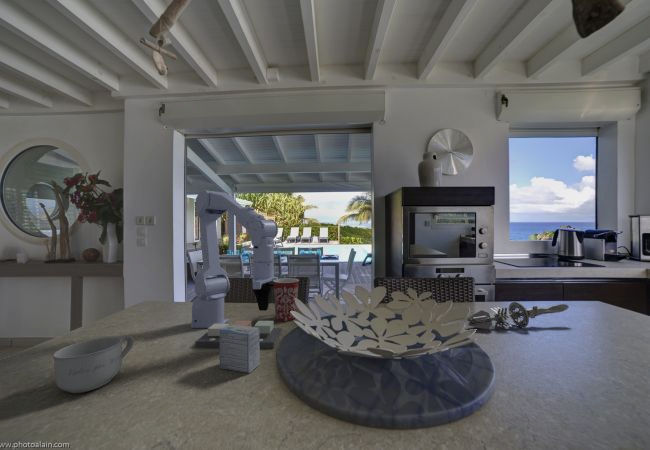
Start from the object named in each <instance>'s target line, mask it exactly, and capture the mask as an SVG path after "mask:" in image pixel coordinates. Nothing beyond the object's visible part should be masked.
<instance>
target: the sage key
mask: <svg viewBox="0 0 650 450" xmlns="http://www.w3.org/2000/svg"><path fill="white" fill-rule="evenodd" d="M274 324H275V323H274V320H258V321H257V322H256V323H255V324H254V326H253V327H257V328H259V333H271V331H272V329H273V328H275V327H274V326H275V325H274Z"/></svg>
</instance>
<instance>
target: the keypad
mask: <svg viewBox="0 0 650 450" xmlns="http://www.w3.org/2000/svg"><path fill="white" fill-rule="evenodd" d="M282 330H283V328H282V327H274V328H273V329H272V331H271V333H259V347H260V349H275V347H276V345H277V344H278V342H279V339H280V338H281V335H282V334H283V331H282ZM194 344H195V348H215V349H216V348H219V349H220V336H208V331H207V332H205V334H203V335H202V336H201V337H199V338H198V339H197V340H196V341H195V343H194Z"/></svg>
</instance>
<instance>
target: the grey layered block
mask: <svg viewBox="0 0 650 450" xmlns="http://www.w3.org/2000/svg"><path fill="white" fill-rule="evenodd" d="M260 350H261V348H260V347H259V328H257V327H254V326H251V327H249V326H241V325H232V324H229V326H227V327H225V328H223V329H222V330H220V348H219V368H220V369H223V370H228V371H229V370H230V371H235V372H241V373H246V374H251V373H252V372H253V371H254V370H256V368H257V367H258V366H260V363H261V351H260Z"/></svg>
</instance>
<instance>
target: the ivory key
mask: <svg viewBox="0 0 650 450" xmlns="http://www.w3.org/2000/svg"><path fill="white" fill-rule="evenodd" d="M227 326H230V323H225V324H213V325H212V326H211V327H209V328H207V332H208V336H220V330H222V329H223V328H225V327H227Z"/></svg>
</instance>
